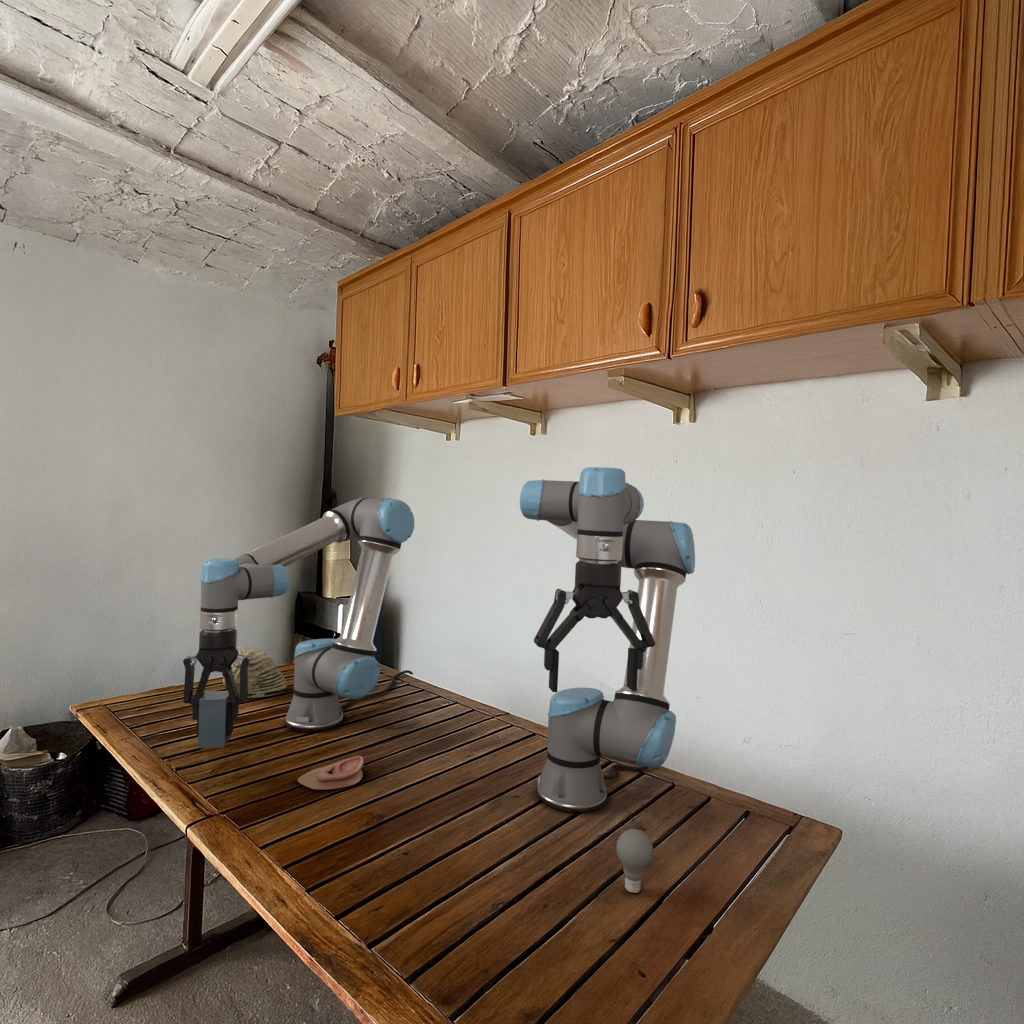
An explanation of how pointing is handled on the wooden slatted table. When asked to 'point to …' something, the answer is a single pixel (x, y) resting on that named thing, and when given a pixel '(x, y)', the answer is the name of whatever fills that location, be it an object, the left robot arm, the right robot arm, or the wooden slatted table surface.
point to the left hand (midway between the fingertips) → (215, 733)
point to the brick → (213, 719)
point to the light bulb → (634, 857)
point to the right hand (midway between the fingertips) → (592, 689)
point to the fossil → (259, 674)
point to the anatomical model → (334, 775)
